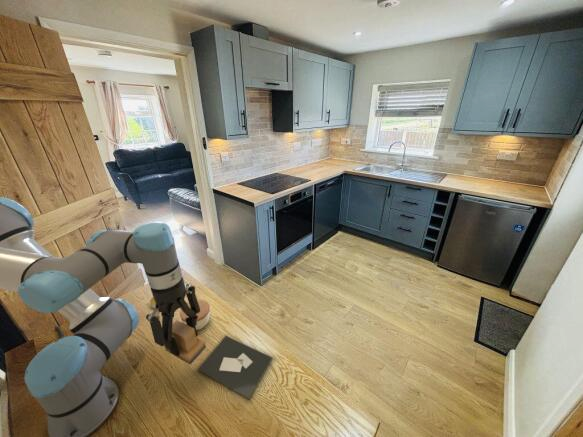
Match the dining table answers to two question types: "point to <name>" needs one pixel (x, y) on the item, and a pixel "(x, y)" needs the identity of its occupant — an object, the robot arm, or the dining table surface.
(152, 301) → the bread roll
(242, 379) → the slate board
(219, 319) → the dining table surface
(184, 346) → the wooden stepped block
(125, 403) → the dining table surface
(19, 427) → the dining table surface
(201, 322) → the trinket box
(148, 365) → the dining table surface
